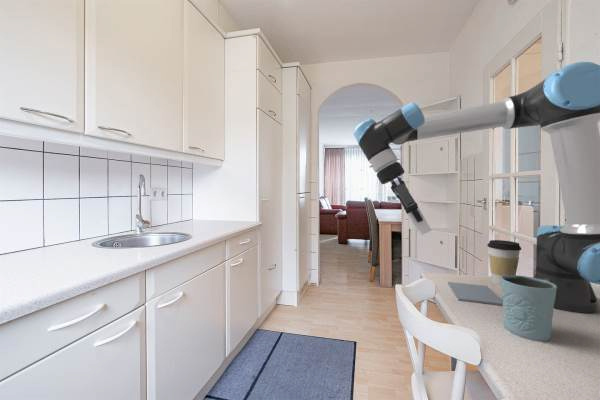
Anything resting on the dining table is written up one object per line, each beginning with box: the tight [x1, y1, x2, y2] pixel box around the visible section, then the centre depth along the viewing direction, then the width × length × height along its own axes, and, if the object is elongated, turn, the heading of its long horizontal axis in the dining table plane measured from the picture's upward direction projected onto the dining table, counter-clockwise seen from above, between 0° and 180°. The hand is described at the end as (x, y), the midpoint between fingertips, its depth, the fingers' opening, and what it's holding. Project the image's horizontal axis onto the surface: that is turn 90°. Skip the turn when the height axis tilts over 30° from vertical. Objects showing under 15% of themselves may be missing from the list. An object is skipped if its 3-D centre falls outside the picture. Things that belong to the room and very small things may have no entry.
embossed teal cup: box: [501, 274, 557, 342], centre depth 64 cm, size 10×10×12 cm
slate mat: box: [447, 281, 503, 307], centre depth 88 cm, size 12×16×1 cm
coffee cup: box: [487, 239, 522, 287], centre depth 97 cm, size 10×10×15 cm
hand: (424, 231), depth 77 cm, fingers open, 13 cm apart
